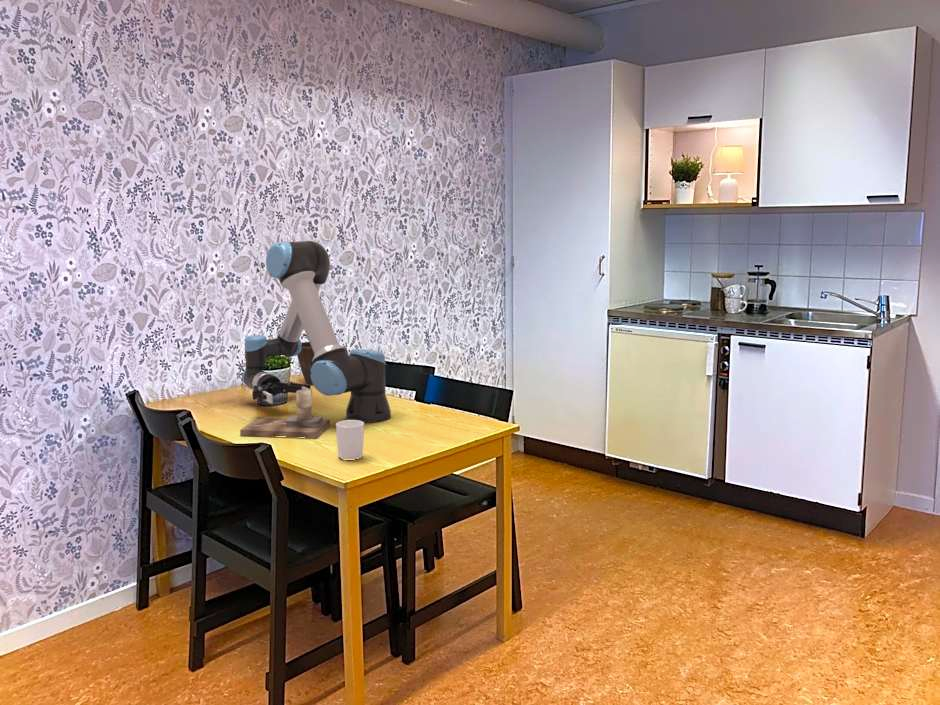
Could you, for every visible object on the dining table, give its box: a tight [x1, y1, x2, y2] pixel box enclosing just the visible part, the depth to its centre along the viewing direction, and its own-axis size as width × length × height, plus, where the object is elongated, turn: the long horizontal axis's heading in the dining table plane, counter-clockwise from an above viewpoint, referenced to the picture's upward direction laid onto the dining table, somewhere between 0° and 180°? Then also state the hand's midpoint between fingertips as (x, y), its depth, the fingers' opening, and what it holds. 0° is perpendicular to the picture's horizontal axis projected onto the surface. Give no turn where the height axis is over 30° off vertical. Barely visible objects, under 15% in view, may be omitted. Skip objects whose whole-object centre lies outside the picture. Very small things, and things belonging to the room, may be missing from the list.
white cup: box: [335, 419, 365, 459], centre depth 227 cm, size 8×8×10 cm
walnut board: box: [239, 416, 331, 439], centre depth 255 cm, size 24×16×2 cm, turn 84°
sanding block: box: [286, 389, 324, 428], centre depth 253 cm, size 10×6×11 cm, turn 84°
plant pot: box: [296, 341, 314, 386], centre depth 325 cm, size 15×15×16 cm
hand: (291, 396), depth 261 cm, fingers open, 13 cm apart
